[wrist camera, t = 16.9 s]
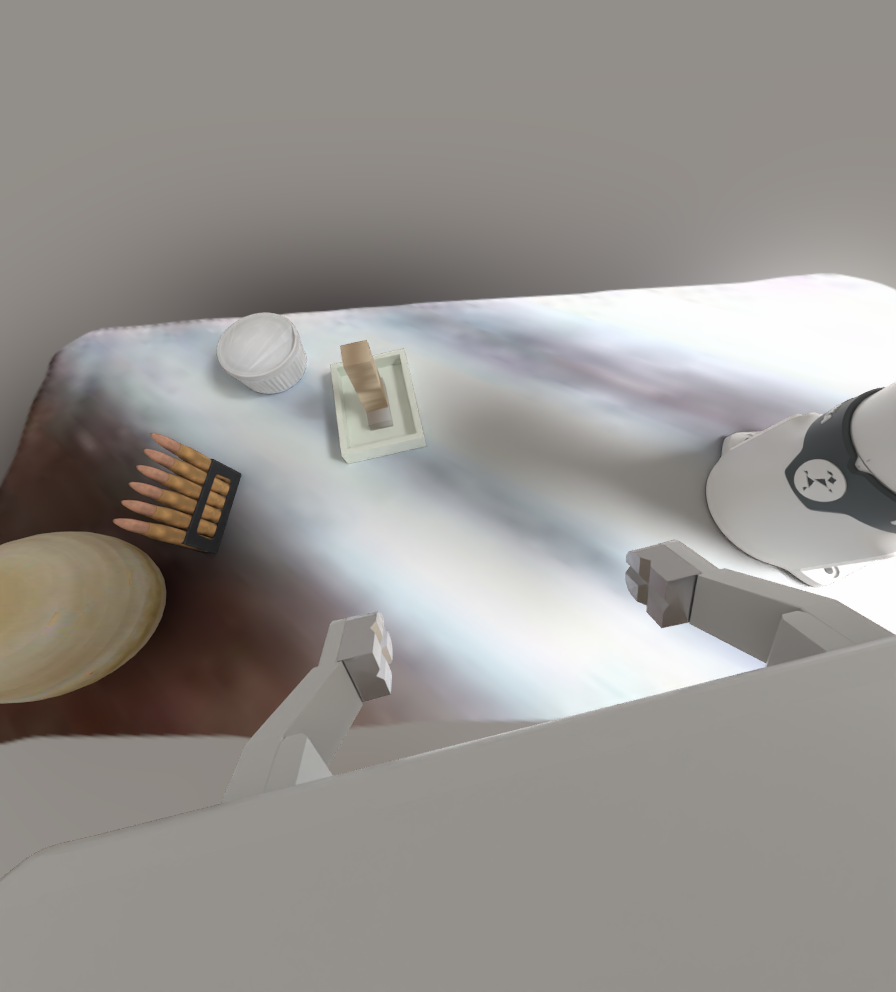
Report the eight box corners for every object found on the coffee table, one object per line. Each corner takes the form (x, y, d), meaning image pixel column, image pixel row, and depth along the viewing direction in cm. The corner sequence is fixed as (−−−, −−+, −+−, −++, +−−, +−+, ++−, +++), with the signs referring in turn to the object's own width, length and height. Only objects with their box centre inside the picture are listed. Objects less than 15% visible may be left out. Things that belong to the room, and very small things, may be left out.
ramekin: (307, 400, 47) (288, 376, 42) (233, 402, 48) (205, 377, 43) (319, 339, 51) (303, 310, 46) (250, 341, 51) (226, 312, 46)
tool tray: (406, 360, 48) (404, 348, 46) (426, 446, 43) (424, 437, 41) (336, 376, 48) (330, 364, 46) (348, 463, 43) (341, 455, 41)
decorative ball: (90, 554, 41) (-108, 524, 27) (208, 539, 41) (71, 501, 27) (56, 690, 36) (-211, 742, 22) (190, 674, 36) (9, 716, 22)
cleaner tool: (385, 384, 46) (364, 326, 37) (393, 426, 44) (373, 375, 35) (364, 389, 46) (338, 332, 37) (371, 431, 44) (345, 381, 34)
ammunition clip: (228, 473, 44) (145, 424, 32) (241, 473, 44) (163, 425, 32) (202, 552, 40) (99, 530, 29) (216, 553, 40) (118, 531, 29)
